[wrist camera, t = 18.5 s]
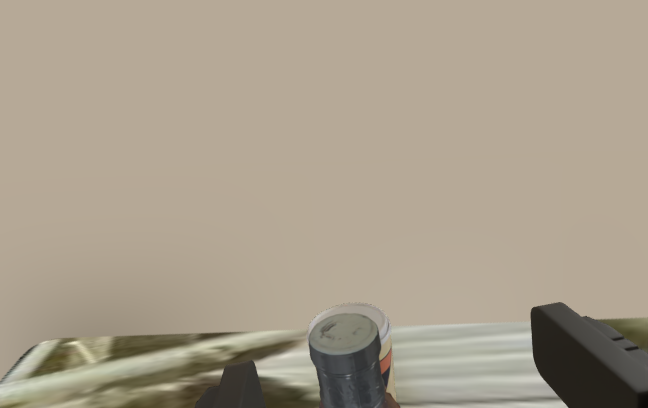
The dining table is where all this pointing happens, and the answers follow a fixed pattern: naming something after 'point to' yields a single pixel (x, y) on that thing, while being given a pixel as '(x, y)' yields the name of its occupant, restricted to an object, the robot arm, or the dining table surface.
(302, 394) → the dining table surface
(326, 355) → the sauce bottle
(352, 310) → the coffee cup
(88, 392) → the dining table surface
